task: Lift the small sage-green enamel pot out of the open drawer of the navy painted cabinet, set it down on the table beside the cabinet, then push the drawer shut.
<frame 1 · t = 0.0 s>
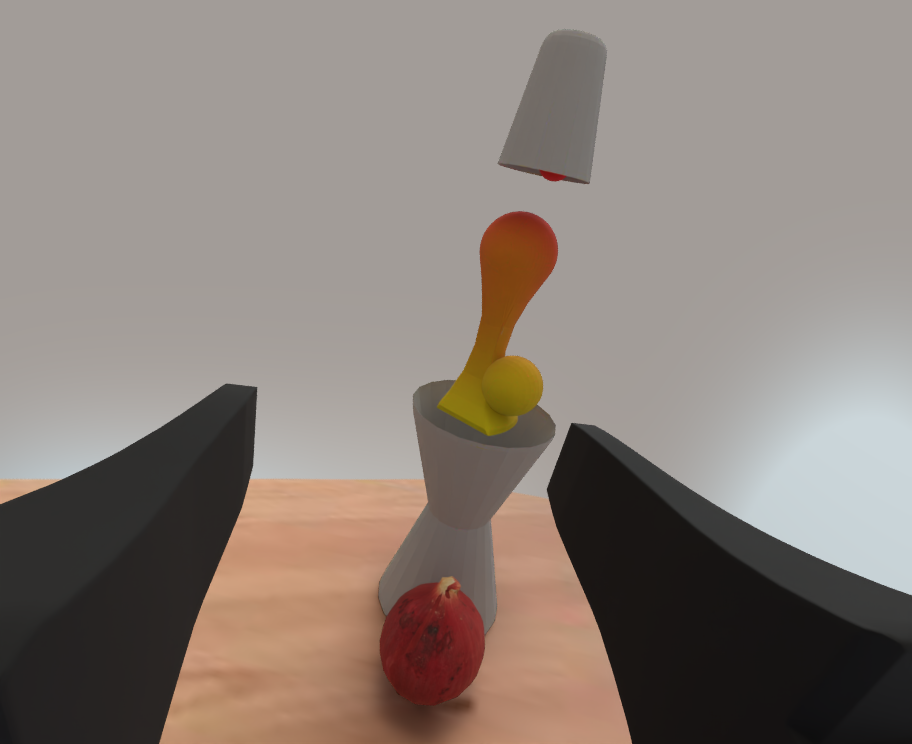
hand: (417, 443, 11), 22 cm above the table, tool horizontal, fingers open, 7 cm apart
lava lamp: (437, 596, 36), on the table
onion: (420, 690, 29), on the table
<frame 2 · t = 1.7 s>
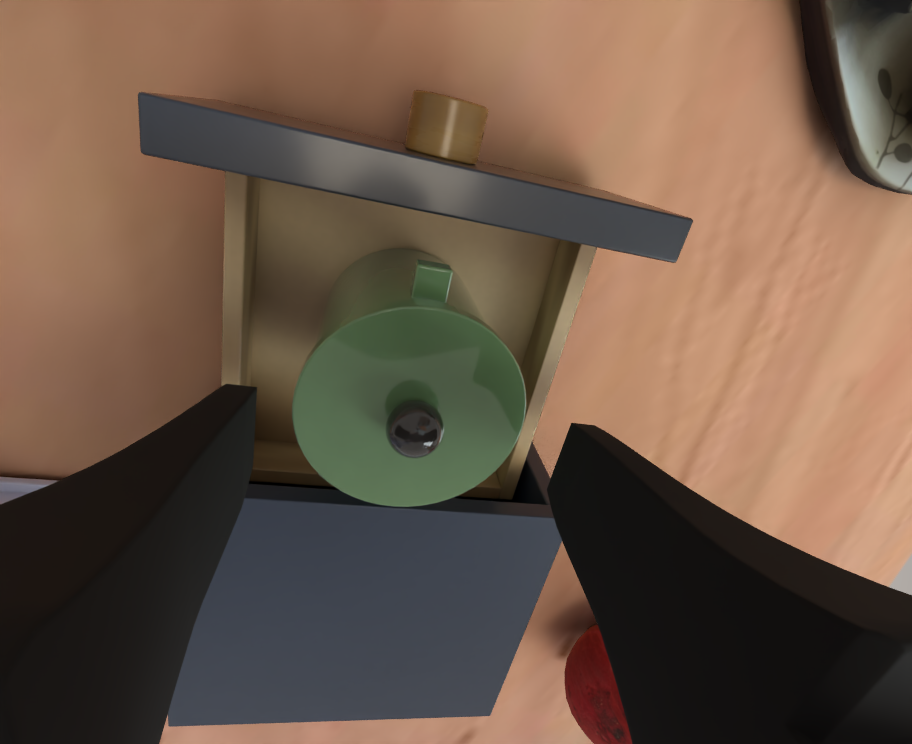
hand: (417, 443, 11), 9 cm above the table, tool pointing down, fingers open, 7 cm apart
pot: (400, 322, 18), point 2 cm above the table, touching drawer
cabinet: (363, 505, 24), on the table
onion: (591, 624, 31), on the table
drawer: (405, 328, 16), point 3 cm above the table, slide at 9.0 cm, touching pot
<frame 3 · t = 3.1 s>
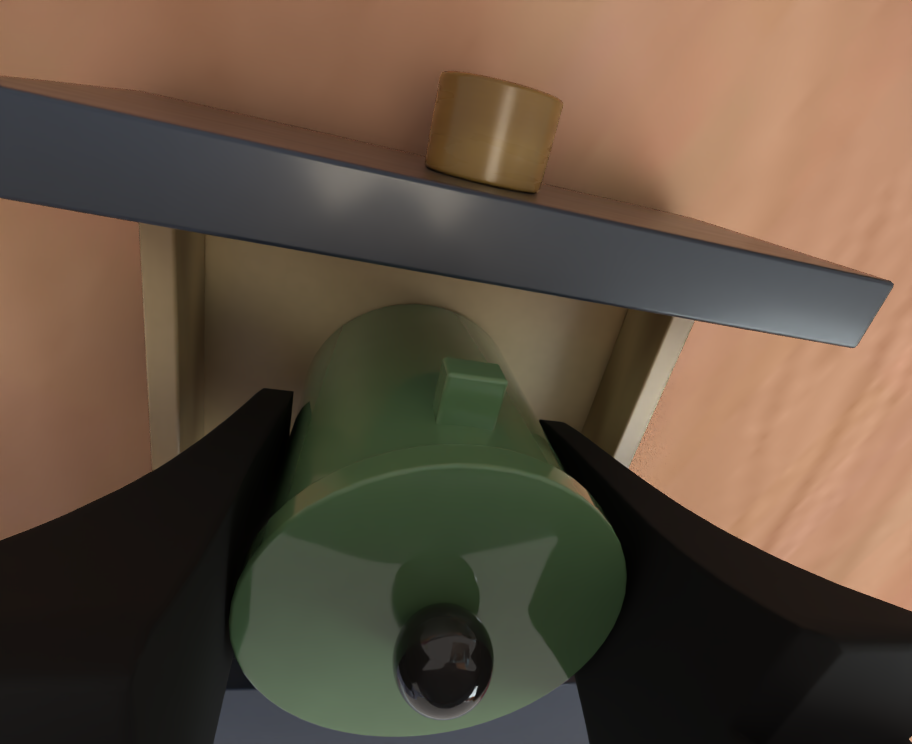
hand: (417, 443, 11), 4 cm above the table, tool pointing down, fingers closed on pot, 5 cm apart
pot: (410, 400, 13), point 2 cm above the table, touching drawer, gripper
cabinet: (361, 610, 19), on the table
drawer: (420, 421, 11), point 3 cm above the table, slide at 9.0 cm, touching pot
when the fingers open (2 cm above the table, at t = 7.6 s): pot stays where it is, on the table.
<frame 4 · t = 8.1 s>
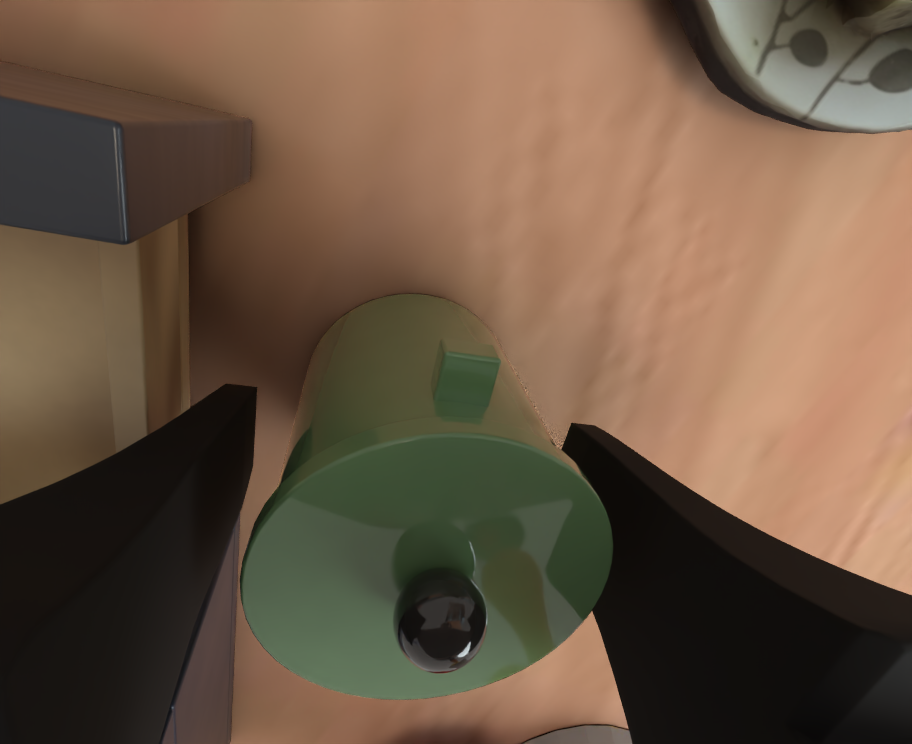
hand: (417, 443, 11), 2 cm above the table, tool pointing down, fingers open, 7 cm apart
pot: (409, 388, 13), on the table
cabinet: (7, 632, 15), on the table
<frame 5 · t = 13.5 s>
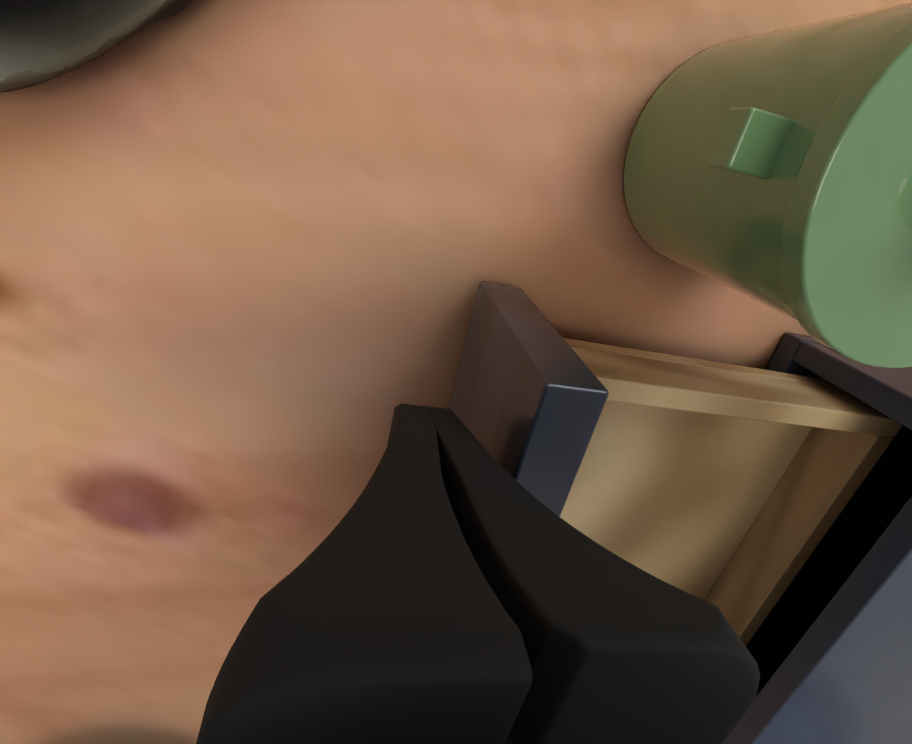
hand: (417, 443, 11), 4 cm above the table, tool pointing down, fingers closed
pot: (719, 161, 13), on the table
cabinet: (815, 501, 20), on the table
drawer: (617, 553, 15), point 3 cm above the table, slide at 9.0 cm, touching gripper
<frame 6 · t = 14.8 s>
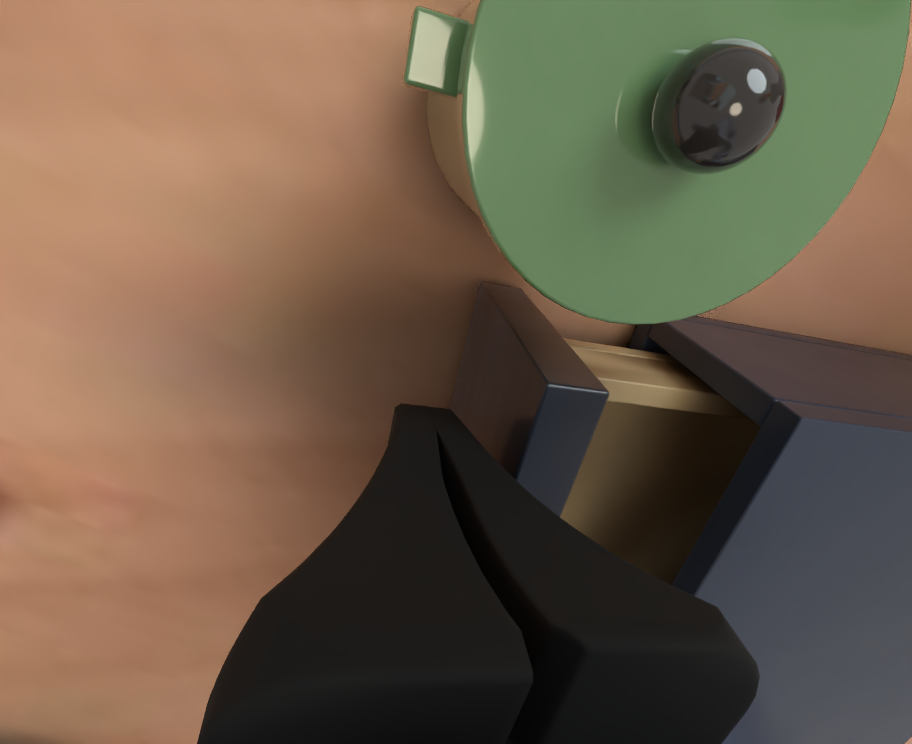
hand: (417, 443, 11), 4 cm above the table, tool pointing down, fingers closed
pot: (538, 113, 12), on the table
cabinet: (705, 492, 19), on the table
drawer: (618, 554, 15), point 3 cm above the table, slide at 3.8 cm, touching gripper
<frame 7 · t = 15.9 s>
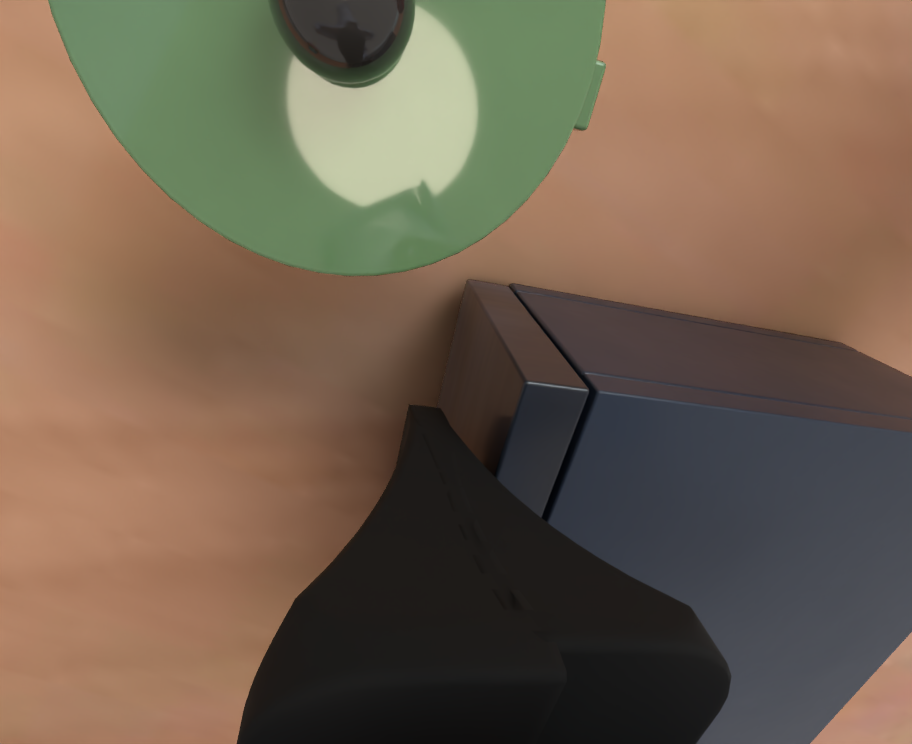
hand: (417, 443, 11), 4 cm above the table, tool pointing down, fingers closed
pot: (360, 65, 11), on the table
cabinet: (605, 484, 18), on the table
drawer: (606, 554, 15), point 3 cm above the table, slide at -0.1 cm, touching gripper
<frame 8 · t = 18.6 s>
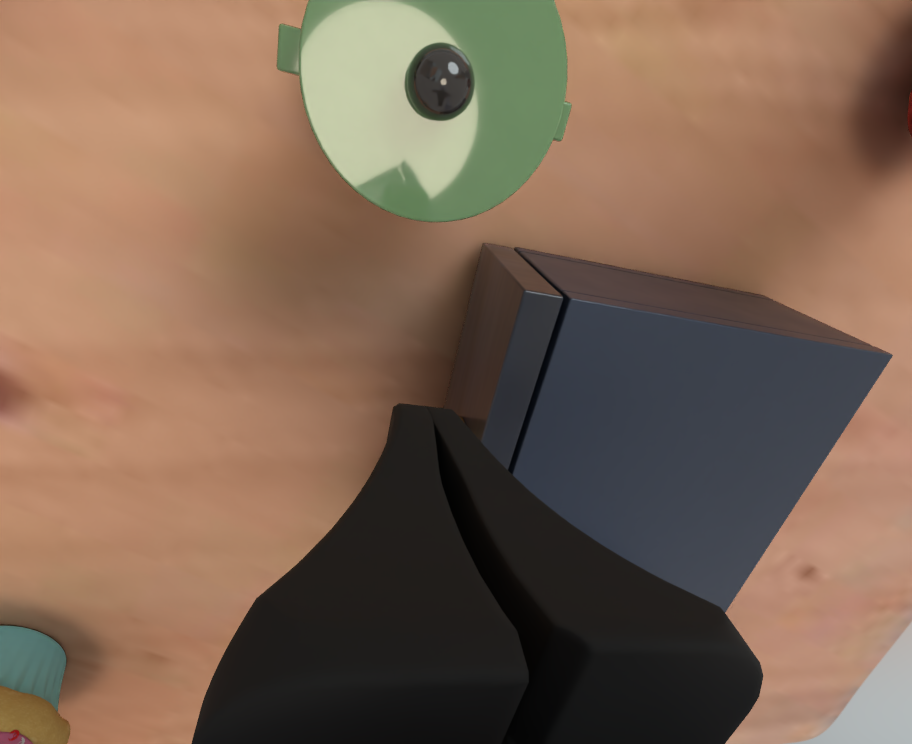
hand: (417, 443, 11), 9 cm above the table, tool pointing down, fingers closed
pot: (415, 95, 16), on the table
cabinet: (587, 407, 23), on the table
cupcake: (14, 649, 25), on the table
drawer: (584, 445, 20), point 3 cm above the table, slide at 0.0 cm
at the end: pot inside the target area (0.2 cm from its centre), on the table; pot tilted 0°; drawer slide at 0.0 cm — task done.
